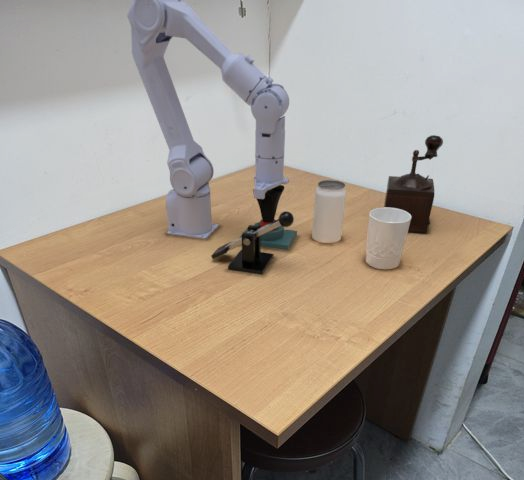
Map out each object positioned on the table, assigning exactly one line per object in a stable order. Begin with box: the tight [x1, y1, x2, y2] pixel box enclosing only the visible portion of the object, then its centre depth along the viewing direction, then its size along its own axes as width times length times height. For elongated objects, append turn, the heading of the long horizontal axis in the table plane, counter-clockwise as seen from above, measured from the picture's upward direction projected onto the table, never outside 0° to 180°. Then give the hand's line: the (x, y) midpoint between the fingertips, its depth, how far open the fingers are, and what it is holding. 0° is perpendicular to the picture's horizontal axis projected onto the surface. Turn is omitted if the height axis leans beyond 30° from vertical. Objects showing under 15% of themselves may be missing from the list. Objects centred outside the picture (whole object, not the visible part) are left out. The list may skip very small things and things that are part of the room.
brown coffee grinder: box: [383, 134, 444, 234], centre depth 112 cm, size 16×11×18 cm
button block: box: [239, 221, 298, 251], centre depth 106 cm, size 11×8×3 cm
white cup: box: [365, 206, 412, 270], centre depth 96 cm, size 8×8×10 cm
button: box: [259, 218, 277, 231], centre depth 105 cm, size 4×4×2 cm
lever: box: [210, 211, 295, 260], centre depth 94 cm, size 18×4×3 cm
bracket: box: [227, 224, 275, 276], centre depth 95 cm, size 7×8×7 cm
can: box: [311, 179, 347, 244], centre depth 104 cm, size 6×6×12 cm
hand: (268, 221), depth 104 cm, fingers closed, pressing on button
